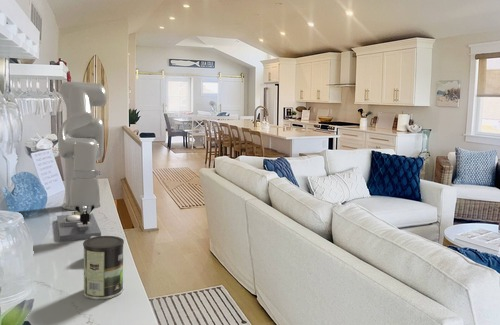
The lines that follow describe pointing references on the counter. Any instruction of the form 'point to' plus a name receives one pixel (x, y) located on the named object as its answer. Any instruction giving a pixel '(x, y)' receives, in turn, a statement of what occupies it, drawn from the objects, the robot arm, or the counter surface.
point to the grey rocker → (83, 225)
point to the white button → (73, 218)
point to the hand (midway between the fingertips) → (84, 223)
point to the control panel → (76, 228)
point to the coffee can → (103, 267)
